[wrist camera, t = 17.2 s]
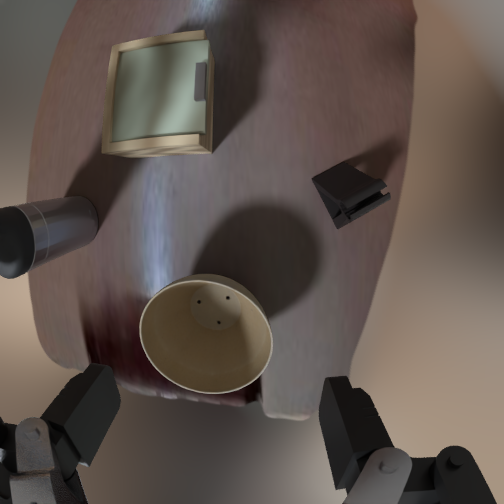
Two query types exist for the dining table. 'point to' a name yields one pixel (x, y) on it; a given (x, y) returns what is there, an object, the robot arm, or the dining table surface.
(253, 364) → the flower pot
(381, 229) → the dining table surface
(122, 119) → the bread box
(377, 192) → the phone stand
